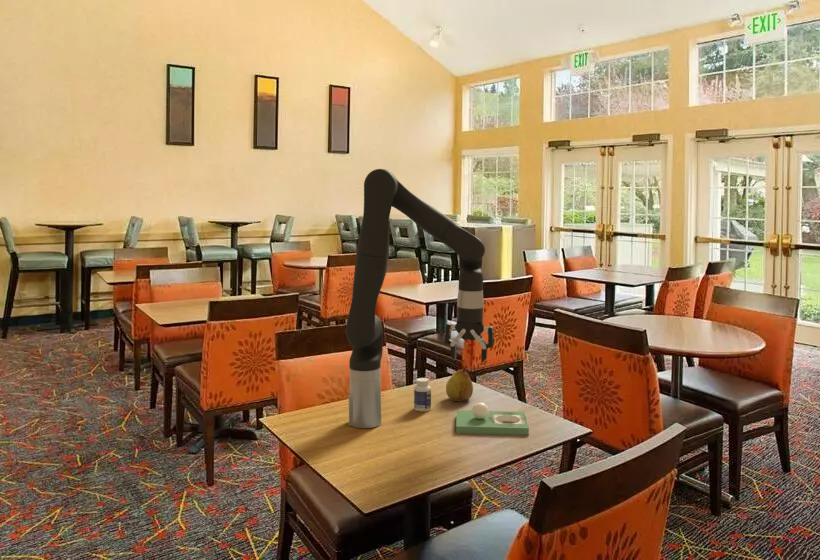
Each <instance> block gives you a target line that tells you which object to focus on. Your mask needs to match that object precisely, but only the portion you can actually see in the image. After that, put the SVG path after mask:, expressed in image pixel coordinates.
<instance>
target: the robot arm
mask: <svg viewBox="0 0 820 560" xmlns="http://www.w3.org/2000/svg"><path fill="white" fill-rule="evenodd" d="M392 207H393V208H394V209H395V210H398V211H399V212H401V213H402V214H404V215H405V216H406V217H407V218H409V219H410V221H412V222H413V223H415V224H416V225H417V226H418V227H419V228H421V229H422V230H423V231H424V232H426V233H428V235H430V236H432V237H433V238H435V239H436V240H437V241H438V242H439V243H442V244H444V245H446V246H447V247H448V248H450V249H451V250H452V251H453V252H454V253H456V254H457V255H458V263H459V275H458V289H457V291H458V292H457V302H456V323H451V322H448V323H447V324H446V325H445V333H444V344H446V345H449V346H450V357H451V358H452V360H456V359H457V353H458V351H457V348H458V347H457V346H458V345H457V343H458V342H459V341H460V340H462V339H463V340H465V341H476V342H477V343H478V344H479V346H480V347H481V353H480V356H481V357H480V362H481V363H484V362H485V361H486V360H487V358H488V349H489V348H490V349H492V348H493V347H494V346H495V332H494V330H495V329H494V328H495V327H494V326H493V325H490V326H484V303H485V302H484V273H483V257H484V255H485V252H486V246H485V244H484V242H483V241H482V239H480V238H478V237H477V236H476V235H474V234H472V233H470V232H469V231H468V230H466V229H464V228H462V227H461V226H460V225H459V224H458V223H456V221H454V220H453V219H452V218H450V217H449V216H448V215H446V214H444V213H443V212H441V211H440V210H438V209H437V208H436V207H434V206H432V205H430V204H429V203H427V202H426V201H424V200H422V199H421V198H420V197H418V196H417V195H416V194H414V193H413V192H411V191H410V190H409V189H408V188H407V187H405V186H404V185H403V184H402V183H401V181H399V180H398V179H397V178H396V176H395V175H394V173H393V172H391V171H389V170H388V169H384V168H377V169H373V170H371V171H370V172H369V173H368V174H367V175H366V177H365V179H364V181H363V215H362V222H361V226H360V231H359V235H358V240H357V248H356V254H355V262H354V273H353V274H354V275H353V283H352V297H351V302H350V307H349V312H348V316H347V320H346V321H347V322H346V325H345V337H346V339H347V341H348V342H349V344H350V345H351V346H352V350H351V351H352V352H351V354H350V357H349V361H348V363H349V365H348V366H349V394H348V425H349V427H353V428H357V429H372V428H377V427H378V426H380V425H381V424H382V374H381V373H382V371H381V369H382V368H381V367H382V365H381V364H382V363H381V362H382V357H383V347H384V345H383V344H384V343H383V342H384V330H383V322H382V321H381V319H380V318H379V316H377V315H376V309H377V302H378V298H379V295H380V292H381V289H382V287H383V284H384V281H385V278H386V274H387V269H388V265H389V263H388V262H389V255H390V253H389V252H390V229H389V228H390V227H389V225H390V224H389V223H390V214H391V210H392ZM454 329H455V330H456V332H457V333H458V334H457V335H456V336H455V337H454V339H453V340H452V339H451V338H452V332H453V330H454ZM483 332H485V333H486V335H487V337H488V338H487V341H488V343H487V341H486V340H485V338H484V337H483V335H482V333H483Z"/></svg>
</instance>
